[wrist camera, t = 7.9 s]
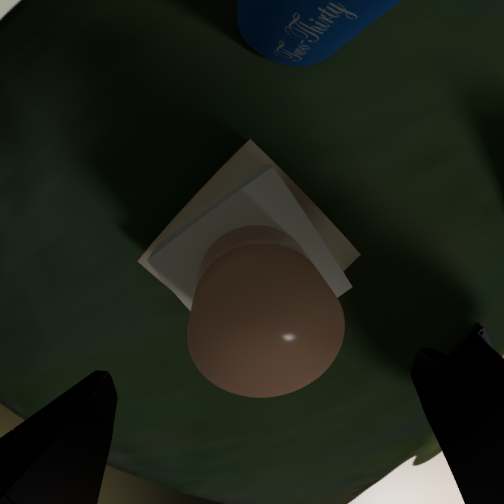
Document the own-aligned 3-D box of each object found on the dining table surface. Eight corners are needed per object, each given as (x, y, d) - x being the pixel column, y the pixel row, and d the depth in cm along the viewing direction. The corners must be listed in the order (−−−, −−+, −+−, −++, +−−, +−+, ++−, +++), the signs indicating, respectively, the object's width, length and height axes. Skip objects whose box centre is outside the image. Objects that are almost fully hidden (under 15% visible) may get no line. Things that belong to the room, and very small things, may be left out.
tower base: (344, 240, 21) (360, 254, 18) (249, 329, 23) (252, 353, 20) (247, 140, 19) (250, 139, 16) (149, 245, 20) (137, 261, 17)
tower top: (334, 266, 18) (352, 287, 15) (236, 331, 19) (238, 361, 16) (265, 163, 16) (272, 166, 13) (159, 242, 17) (146, 260, 14)
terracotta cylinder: (331, 276, 15) (373, 329, 10) (256, 346, 16) (267, 416, 11) (253, 200, 14) (267, 228, 9) (176, 283, 15) (155, 343, 10)
